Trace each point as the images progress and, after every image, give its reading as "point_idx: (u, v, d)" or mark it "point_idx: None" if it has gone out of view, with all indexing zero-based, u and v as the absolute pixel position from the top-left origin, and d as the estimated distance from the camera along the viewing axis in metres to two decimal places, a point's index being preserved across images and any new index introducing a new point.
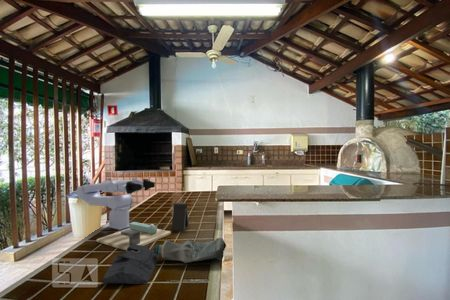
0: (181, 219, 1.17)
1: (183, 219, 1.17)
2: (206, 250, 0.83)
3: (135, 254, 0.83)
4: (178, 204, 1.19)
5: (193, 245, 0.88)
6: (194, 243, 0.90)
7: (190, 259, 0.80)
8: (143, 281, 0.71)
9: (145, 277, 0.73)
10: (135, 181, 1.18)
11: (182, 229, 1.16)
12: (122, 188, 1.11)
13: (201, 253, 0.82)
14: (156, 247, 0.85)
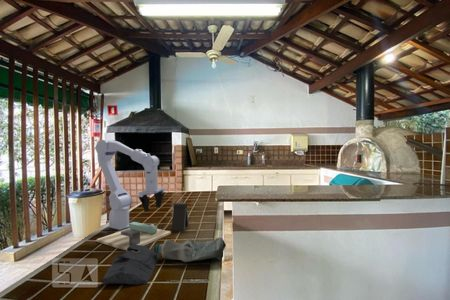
0: (181, 219, 1.17)
1: (183, 219, 1.17)
2: (205, 250, 0.83)
3: (135, 254, 0.83)
4: (178, 204, 1.19)
5: (193, 244, 0.89)
6: (194, 242, 0.90)
7: (190, 258, 0.80)
8: (143, 281, 0.71)
9: (145, 277, 0.72)
10: None
11: (182, 229, 1.16)
12: (139, 194, 1.12)
13: (201, 252, 0.82)
14: (156, 246, 0.86)
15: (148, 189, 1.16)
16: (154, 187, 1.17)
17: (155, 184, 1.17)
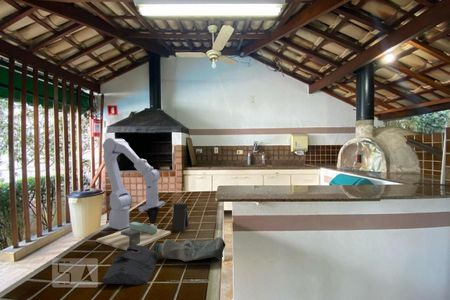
0: (181, 219, 1.17)
1: (183, 219, 1.17)
2: (205, 249, 0.84)
3: (135, 254, 0.82)
4: (178, 204, 1.19)
5: (193, 244, 0.89)
6: (194, 242, 0.91)
7: (189, 258, 0.81)
8: (143, 281, 0.71)
9: (145, 277, 0.72)
10: None
11: (182, 229, 1.16)
12: (140, 209, 1.13)
13: (200, 252, 0.83)
14: (156, 246, 0.86)
15: (149, 203, 1.16)
16: (155, 201, 1.17)
17: (156, 198, 1.17)
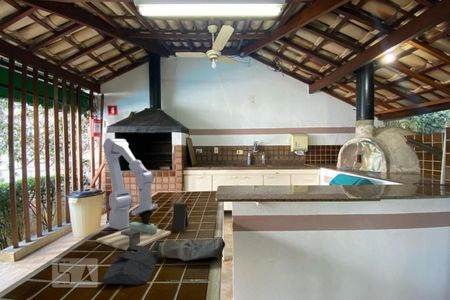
0: (181, 219, 1.17)
1: (183, 219, 1.17)
2: (205, 249, 0.84)
3: (135, 254, 0.82)
4: (178, 204, 1.19)
5: (193, 243, 0.90)
6: (194, 242, 0.91)
7: (189, 257, 0.81)
8: (142, 282, 0.70)
9: (144, 278, 0.72)
10: None
11: (182, 229, 1.16)
12: (132, 212, 1.09)
13: (200, 251, 0.83)
14: (156, 245, 0.87)
15: (141, 206, 1.12)
16: (148, 204, 1.13)
17: (149, 201, 1.14)
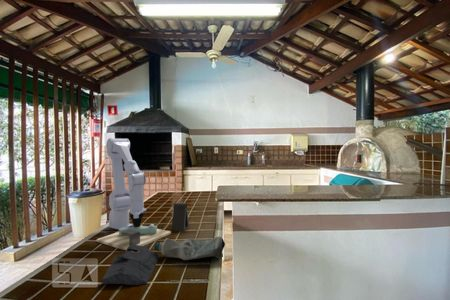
0: (181, 219, 1.17)
1: (183, 219, 1.17)
2: (204, 248, 0.85)
3: (134, 255, 0.82)
4: (178, 204, 1.19)
5: (193, 243, 0.90)
6: (194, 241, 0.91)
7: (188, 257, 0.82)
8: (142, 282, 0.70)
9: (144, 278, 0.72)
10: None
11: (182, 229, 1.16)
12: (135, 216, 1.04)
13: (200, 251, 0.84)
14: (157, 244, 0.88)
15: (138, 209, 1.08)
16: (143, 206, 1.11)
17: (143, 202, 1.11)
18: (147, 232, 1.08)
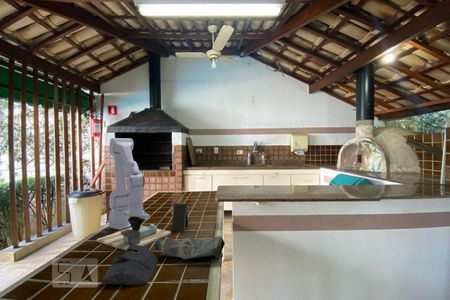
0: (181, 219, 1.17)
1: (183, 219, 1.17)
2: (204, 248, 0.85)
3: (135, 255, 0.82)
4: (178, 204, 1.19)
5: (193, 242, 0.91)
6: (194, 240, 0.92)
7: (188, 256, 0.83)
8: (142, 282, 0.70)
9: (145, 278, 0.72)
10: None
11: (182, 229, 1.16)
12: (147, 217, 1.02)
13: (199, 250, 0.84)
14: (157, 243, 0.89)
15: (141, 211, 1.05)
16: None
17: None
18: (151, 232, 1.08)
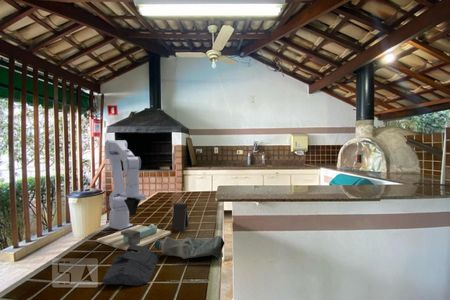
0: (181, 219, 1.17)
1: (183, 219, 1.17)
2: (204, 247, 0.86)
3: (135, 255, 0.82)
4: (178, 204, 1.19)
5: (193, 242, 0.91)
6: (194, 240, 0.93)
7: (188, 255, 0.83)
8: (143, 282, 0.70)
9: (145, 278, 0.72)
10: None
11: (182, 229, 1.16)
12: (143, 197, 1.06)
13: (199, 250, 0.85)
14: (157, 243, 0.89)
15: (137, 192, 1.09)
16: None
17: None
18: (151, 232, 1.08)
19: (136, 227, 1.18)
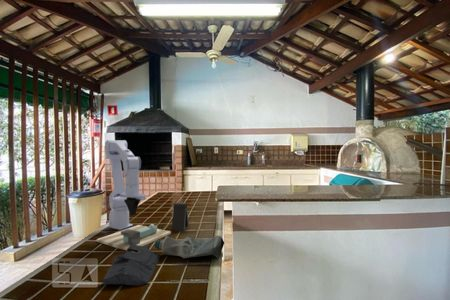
0: (181, 219, 1.17)
1: (183, 219, 1.17)
2: (203, 247, 0.86)
3: (135, 255, 0.82)
4: (178, 204, 1.19)
5: (193, 242, 0.92)
6: (194, 240, 0.93)
7: (187, 255, 0.83)
8: (143, 282, 0.70)
9: (145, 278, 0.72)
10: None
11: (182, 229, 1.16)
12: (143, 197, 1.06)
13: (199, 249, 0.85)
14: (157, 242, 0.90)
15: (137, 192, 1.09)
16: None
17: None
18: (151, 232, 1.08)
19: (136, 227, 1.18)
